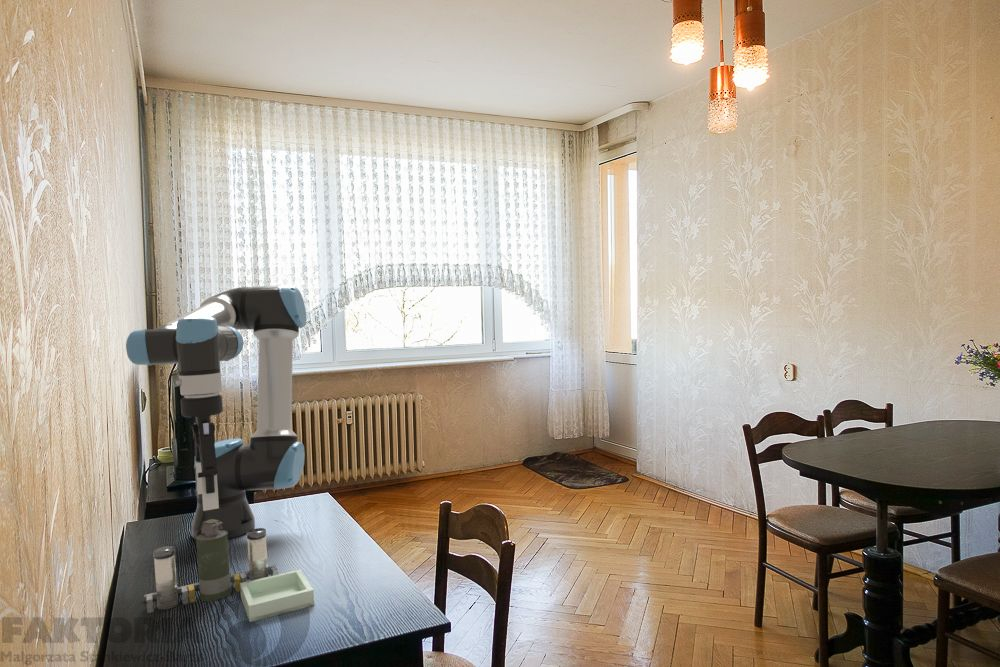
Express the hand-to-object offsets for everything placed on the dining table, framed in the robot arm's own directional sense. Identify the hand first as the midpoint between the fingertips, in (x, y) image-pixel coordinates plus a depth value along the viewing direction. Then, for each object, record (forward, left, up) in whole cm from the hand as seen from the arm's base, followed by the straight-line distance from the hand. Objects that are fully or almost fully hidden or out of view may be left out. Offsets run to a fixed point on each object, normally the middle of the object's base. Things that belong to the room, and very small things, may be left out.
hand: (207, 500), depth 130 cm
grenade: (0, 0, -19) cm, 19 cm away
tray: (+11, +10, -19) cm, 24 cm away
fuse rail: (-2, 0, -19) cm, 19 cm away
